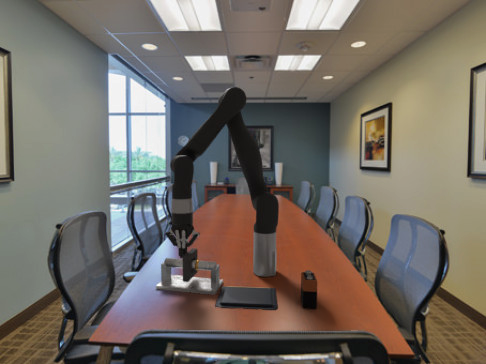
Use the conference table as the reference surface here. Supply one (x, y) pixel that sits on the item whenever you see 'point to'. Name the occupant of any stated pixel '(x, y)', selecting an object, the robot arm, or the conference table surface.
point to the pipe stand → (195, 283)
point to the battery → (308, 290)
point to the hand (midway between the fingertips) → (182, 257)
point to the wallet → (247, 298)
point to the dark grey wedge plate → (189, 265)
